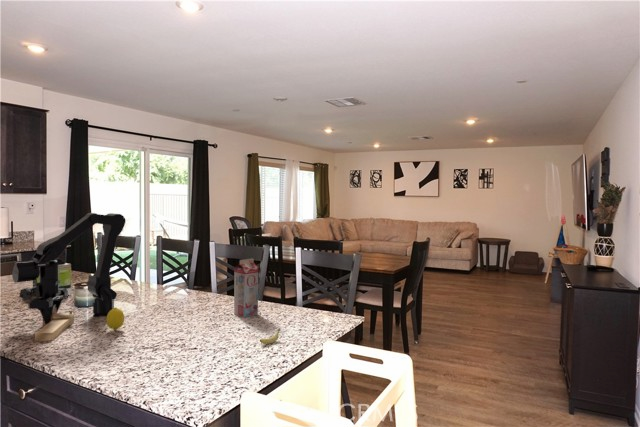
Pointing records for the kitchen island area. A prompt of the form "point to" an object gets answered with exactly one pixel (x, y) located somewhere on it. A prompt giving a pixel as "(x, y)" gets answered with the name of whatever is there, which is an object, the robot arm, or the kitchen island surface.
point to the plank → (53, 329)
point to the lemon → (115, 318)
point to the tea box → (62, 277)
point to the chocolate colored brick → (59, 316)
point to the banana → (270, 339)
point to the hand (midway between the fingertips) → (49, 322)
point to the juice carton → (246, 288)
